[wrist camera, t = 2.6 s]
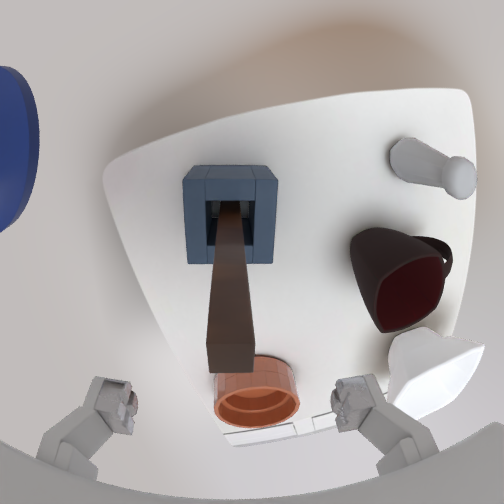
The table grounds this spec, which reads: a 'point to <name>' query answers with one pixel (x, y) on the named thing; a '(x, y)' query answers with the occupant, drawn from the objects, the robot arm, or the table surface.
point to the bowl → (429, 370)
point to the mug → (399, 275)
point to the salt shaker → (433, 168)
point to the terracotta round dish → (256, 395)
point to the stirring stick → (230, 298)
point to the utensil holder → (230, 189)
